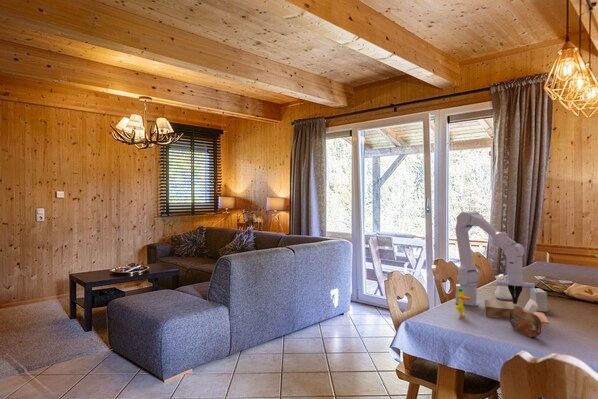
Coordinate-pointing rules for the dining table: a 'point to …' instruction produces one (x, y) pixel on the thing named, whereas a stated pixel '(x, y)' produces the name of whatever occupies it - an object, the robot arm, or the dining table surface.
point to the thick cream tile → (530, 306)
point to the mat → (541, 317)
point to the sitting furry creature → (502, 289)
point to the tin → (525, 322)
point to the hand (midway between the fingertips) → (514, 303)
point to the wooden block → (500, 308)
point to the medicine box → (539, 298)
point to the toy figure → (461, 302)
